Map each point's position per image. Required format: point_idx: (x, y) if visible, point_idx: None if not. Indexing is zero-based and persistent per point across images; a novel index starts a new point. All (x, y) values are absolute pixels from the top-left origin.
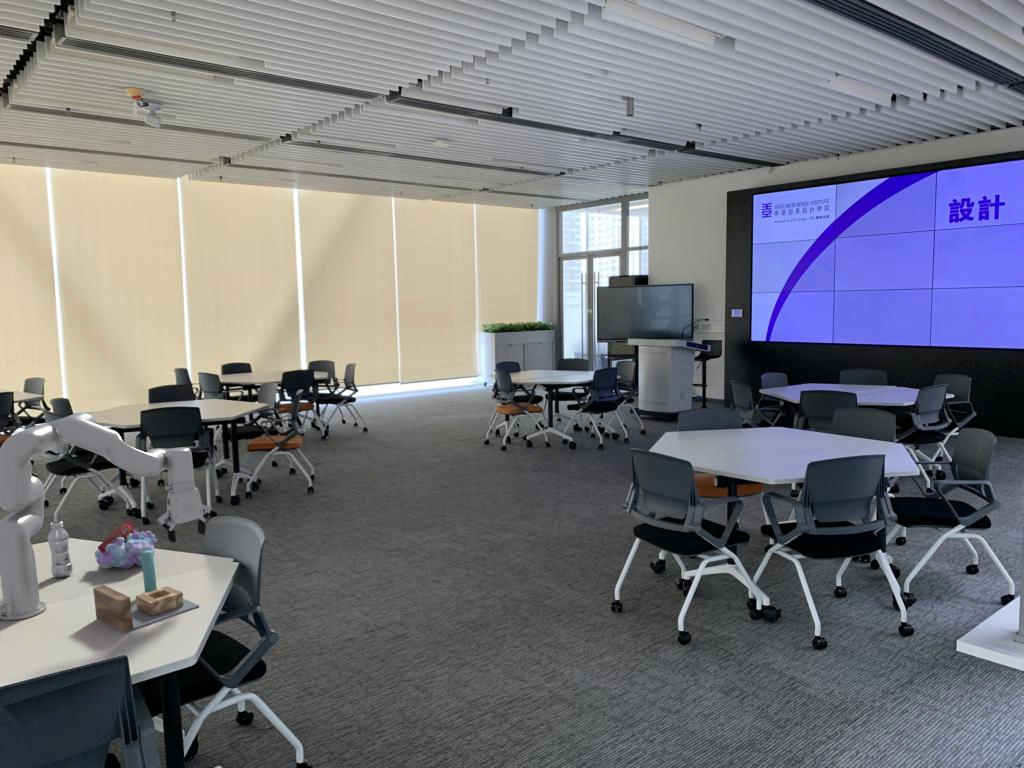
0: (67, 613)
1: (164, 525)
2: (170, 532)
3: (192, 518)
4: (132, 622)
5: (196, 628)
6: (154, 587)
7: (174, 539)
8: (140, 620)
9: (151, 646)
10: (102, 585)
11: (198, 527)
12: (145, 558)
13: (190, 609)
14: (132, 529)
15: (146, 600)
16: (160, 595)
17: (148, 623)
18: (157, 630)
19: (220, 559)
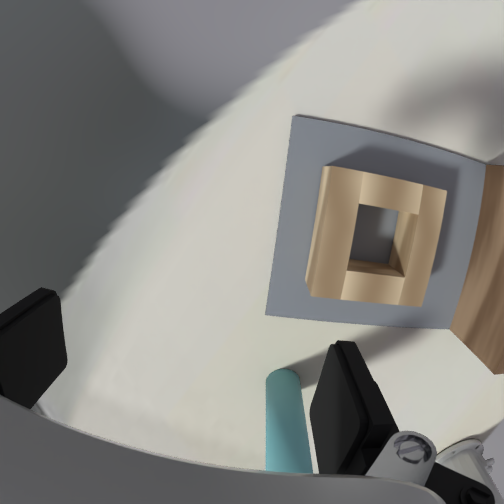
0: (446, 413)
1: (489, 495)
2: (390, 431)
3: (19, 430)
4: (496, 165)
5: (393, 3)
6: (281, 380)
7: (355, 354)
8: (452, 195)
9: (495, 43)
10: (498, 371)
11: (40, 383)
12: (309, 462)
13: (326, 121)
14: None
15: (438, 230)
16: (354, 266)
17: (453, 153)
18: (457, 96)
19: (45, 397)
